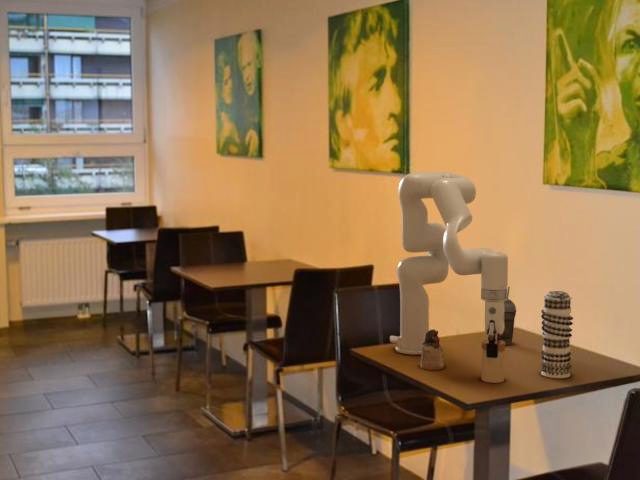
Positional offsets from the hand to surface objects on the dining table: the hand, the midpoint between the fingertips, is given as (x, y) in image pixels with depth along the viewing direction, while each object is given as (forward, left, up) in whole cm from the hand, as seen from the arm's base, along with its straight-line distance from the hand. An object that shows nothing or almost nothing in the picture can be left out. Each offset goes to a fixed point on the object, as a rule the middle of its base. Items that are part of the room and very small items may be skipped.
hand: (493, 353), depth 262 cm
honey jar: (0, 0, -8) cm, 8 cm away
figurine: (-21, +5, -8) cm, 23 cm away
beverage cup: (-10, +45, -8) cm, 47 cm away
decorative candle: (+15, +14, -8) cm, 22 cm away
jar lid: (0, 0, +3) cm, 3 cm away
